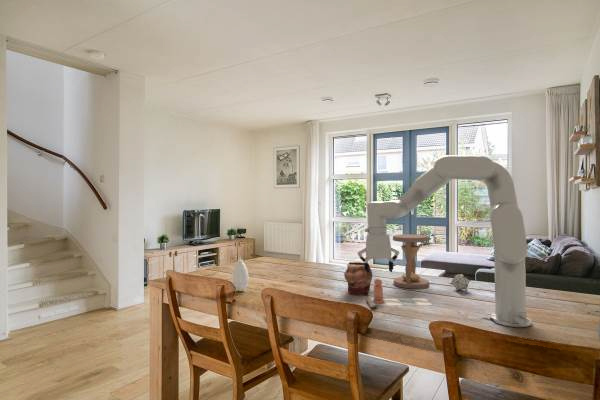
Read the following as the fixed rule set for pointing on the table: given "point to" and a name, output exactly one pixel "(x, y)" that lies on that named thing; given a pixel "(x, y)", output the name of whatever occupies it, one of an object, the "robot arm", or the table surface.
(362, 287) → the decorative planter
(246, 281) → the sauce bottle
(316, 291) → the table surface
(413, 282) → the wooden pedestal stand
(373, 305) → the board
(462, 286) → the game die
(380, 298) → the pawn
